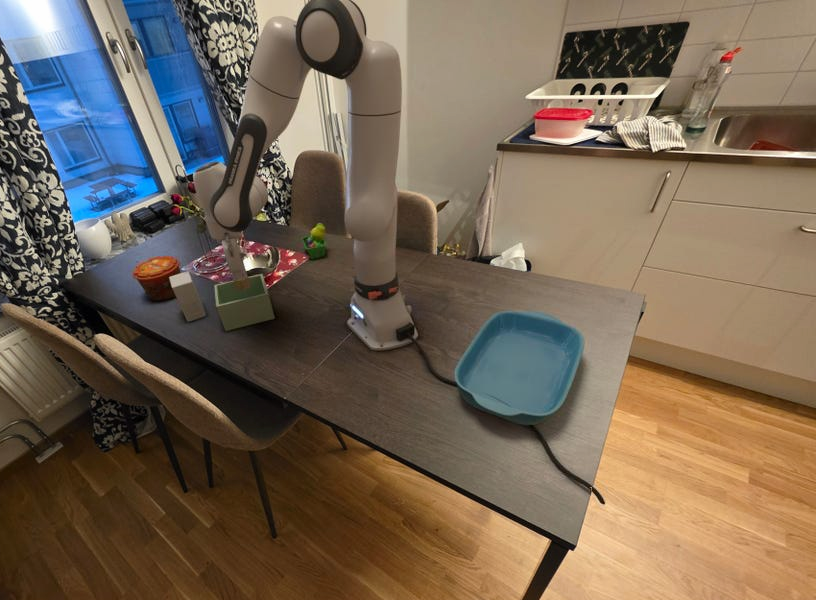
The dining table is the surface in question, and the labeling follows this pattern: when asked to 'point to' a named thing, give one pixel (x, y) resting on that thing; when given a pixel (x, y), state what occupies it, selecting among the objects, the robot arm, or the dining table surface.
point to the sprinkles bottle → (243, 281)
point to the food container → (157, 276)
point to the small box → (187, 296)
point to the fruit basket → (316, 242)
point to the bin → (243, 303)
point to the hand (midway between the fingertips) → (238, 272)
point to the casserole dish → (520, 366)
